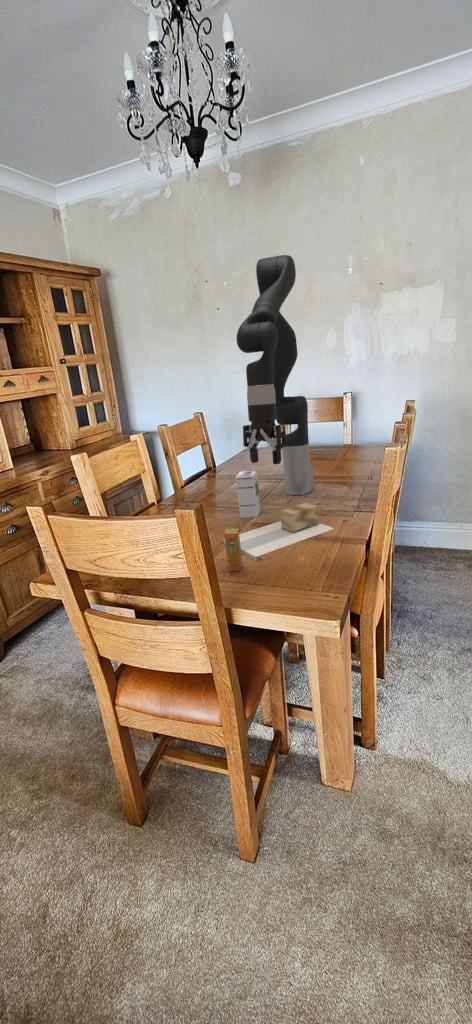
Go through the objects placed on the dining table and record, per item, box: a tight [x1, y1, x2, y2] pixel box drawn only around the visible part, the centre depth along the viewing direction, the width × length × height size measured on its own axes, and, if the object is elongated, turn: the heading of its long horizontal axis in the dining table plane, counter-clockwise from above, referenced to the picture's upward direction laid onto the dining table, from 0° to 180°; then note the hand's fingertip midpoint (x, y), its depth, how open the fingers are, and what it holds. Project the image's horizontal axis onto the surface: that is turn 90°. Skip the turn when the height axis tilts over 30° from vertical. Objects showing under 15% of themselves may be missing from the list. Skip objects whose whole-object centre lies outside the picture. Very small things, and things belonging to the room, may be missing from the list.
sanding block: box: [279, 502, 319, 533], centre depth 134 cm, size 9×5×6 cm, turn 122°
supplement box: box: [224, 527, 244, 572], centre depth 115 cm, size 3×3×10 cm
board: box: [222, 520, 334, 562], centre depth 131 cm, size 26×16×1 cm, turn 122°
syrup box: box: [235, 470, 262, 519], centre depth 148 cm, size 6×6×14 cm
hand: (265, 463), depth 131 cm, fingers open, 8 cm apart
